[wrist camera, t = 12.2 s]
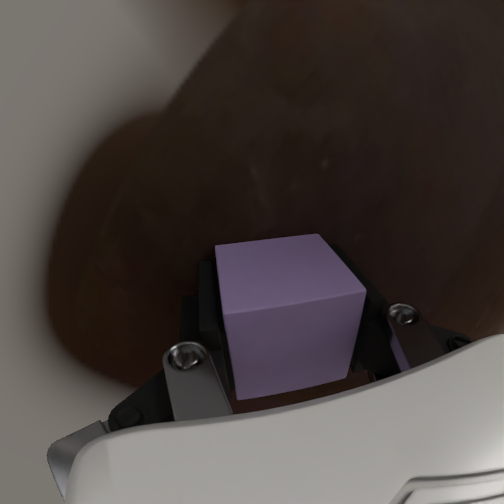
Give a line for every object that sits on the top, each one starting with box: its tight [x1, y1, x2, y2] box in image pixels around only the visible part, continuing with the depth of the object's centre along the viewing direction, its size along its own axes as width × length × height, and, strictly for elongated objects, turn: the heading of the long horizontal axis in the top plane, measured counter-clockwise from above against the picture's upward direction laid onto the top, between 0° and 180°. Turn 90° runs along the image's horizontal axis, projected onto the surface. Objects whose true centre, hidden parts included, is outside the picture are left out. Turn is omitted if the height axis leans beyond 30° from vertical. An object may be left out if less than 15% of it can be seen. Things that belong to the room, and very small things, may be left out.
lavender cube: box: [215, 234, 366, 400], centre depth 10 cm, size 4×4×4 cm
